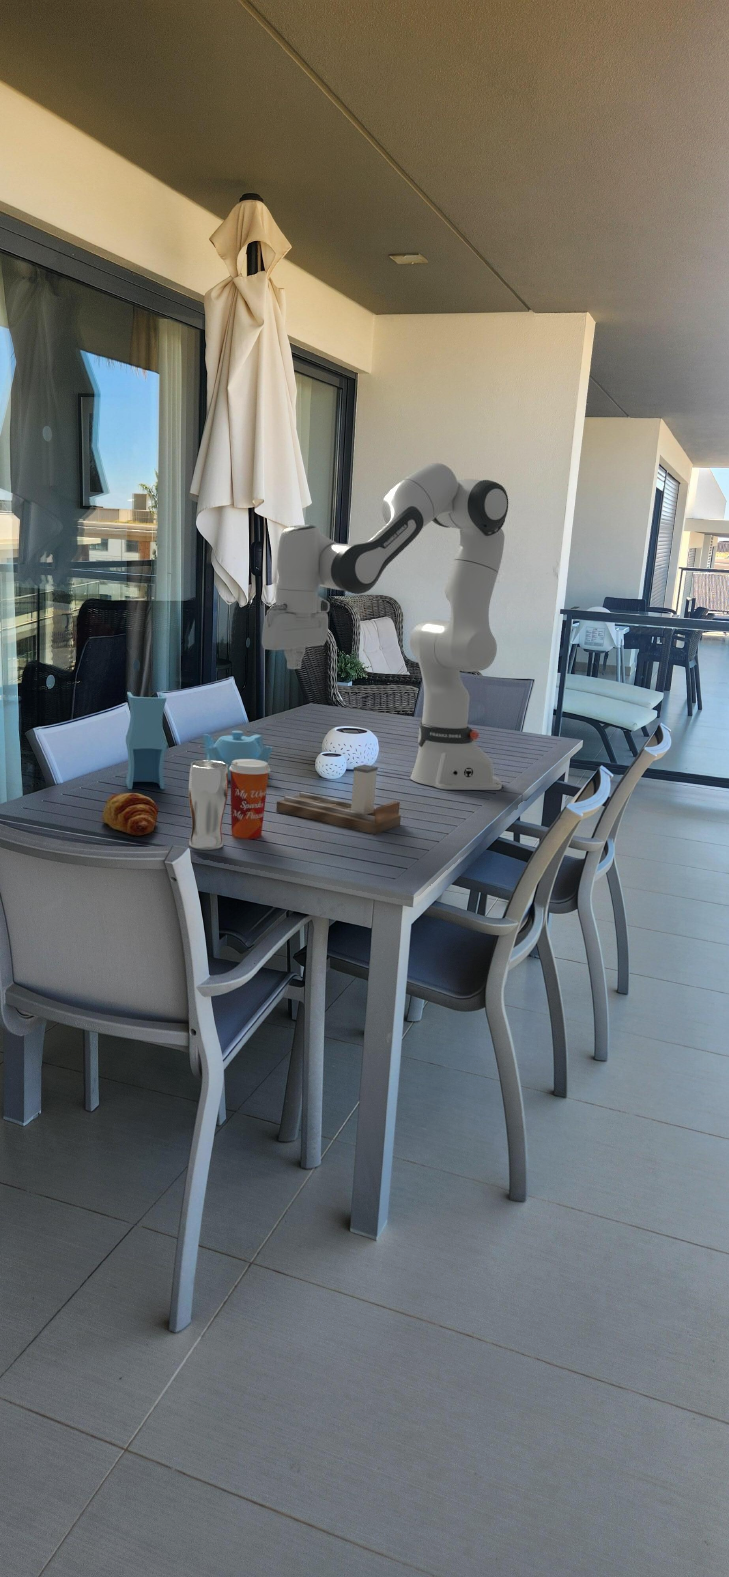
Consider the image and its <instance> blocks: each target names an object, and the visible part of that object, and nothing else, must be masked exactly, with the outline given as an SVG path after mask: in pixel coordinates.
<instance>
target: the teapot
mask: <svg viewBox="0 0 729 1577" xmlns="http://www.w3.org/2000/svg"><path fill="white" fill-rule="evenodd" d="M230 732H231V735H229V734H228V735H223V736H220V737H219V738H218V739H217V740H216V742H215V741H214V739H213V737H212V735H211V734H206V733H204V734H202V739H203V746H204V752H205V755H206V756H205V757H206V760H209V761H219V762H223V763H226V764H227V765H228V782H231V771H230V770H229V767H230V766H231V763H232V761H234V760H238V759H254V760H261V761H264V762H267V763H268V762H269V760H270V757H271V755H272V752H273V750H274V746H269V745H266V746H264V741H263V737H262V735H260V734H257V733H256V734H253V735H252V736H246V735H244V731H242V730H233V731H230Z"/></svg>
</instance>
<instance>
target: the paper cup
mask: <svg viewBox="0 0 729 1577" xmlns="http://www.w3.org/2000/svg"><path fill="white" fill-rule="evenodd" d="M229 770H230V771H231V781H230V813H231V814H230V819H231V820H230V822H231V825H230V826H231V828H230V829H231V835H232V837H234V838H236V839H243V840H255V839H258V838H260V837H261V836H262V831H263V824H264V816H265V808H266V799H267V791H268V790H267V789H268V782H269V781H268V779H269V773H271V770H272V769H270V765H269V764H268V762H264V761H261V760H254V759H238V760H234V761H232V763H231V766H230V767H229Z"/></svg>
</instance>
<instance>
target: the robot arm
mask: <svg viewBox="0 0 729 1577" xmlns="http://www.w3.org/2000/svg"><path fill="white" fill-rule="evenodd" d="M508 497H509V496H508V493H507V490H506V489H505V487H504V486H503V485H501V484H500V483H498V482H496V481H493V480H489V479H483V480H482V479H481V480H480V479H474V478H468V479H465V478H464V479H462V480H461V479H460V480H457V477H456V475H455V473H454V471H452V469H451V468H450V467H449V466H447V465H446V464H443V463H439V462H435V463H431V464H428V465H425V466H424V467H422V468H420V469H418V470H416V471H414V472H412V473H411V474H410V475H408V476H407V477H405V478H404V479H402V480H401V481H400V482H398V483H397V484H395V485H394V486H393V487H392V488H391V489H390V490H389V491H388V492H387V493H386V495H384V497H383V499H382V503H381V514H382V517H383V520H384V522H385V526H383V527H382V528H381V529H380V530H379V531H378V532H376V534H374V535H373V536H372V537H371V538H370V539H368V541H364V542H360V543H352V544H351V543H339V542H336V541H335V540H332V539H331V538H329V537H327V536H325V535H324V534H323V532H321V531H319V529H318V527H317V526H315V525H313V524H303V525H302V524H301V525H294V526H288V527H286V528H285V529H284V530H282V532H281V533H280V537H279V541H278V548H277V559H276V560H277V562H276V563H277V564H276V569H277V572H278V573H277V574H278V578H277V583H276V590H275V593H276V594H275V604H272V605H271V606H270V608H269V609H268V610H267V611H266V615H265V617H264V620H263V625H262V631H261V632H262V633H261V645H262V648H263V649H264V650H269V651H281V650H283V653H284V657H285V659H286V661H287V662H286V668H287V669H288V670H296V669H297V670H298V669H301V668H302V660H303V658H304V657H305V653H306V648H309V647H317V646H324V645H325V643H326V642H327V638H328V633H329V632H328V630H329V616H328V612H329V611H330V608H331V607H330V606H331V605H330V602H329V601H327V600H325V599H324V598H323V597H321V596H319V593H318V592H319V587H322V588H327V589H332V590H338V591H344V592H347V593H351V594H355V595H361V594H364V593H367V592H369V591H370V590H372V588H373V587H374V586H375V585H376V584H377V582H378V581H379V579H380V577H381V576H382V573H384V570H385V569H386V568H387V567H388V565H389V564H390V563H392V561H393V560H394V559H395V558H397V557H398V555H400V553H402V552H403V551H404V550H405V549H406V548H407V547H408V546H409V545H410V544H411V543H412V542H413V541H414V540H416V538H417V536H418V535H419V534H420V533H421V531H422V529H423V528H425V527H426V526H427V525H428V524H429V523H431V522H433V523H434V524H435V525H437V526H440V527H442V528H443V527H444V528H453V529H456V530H457V529H458V530H459V535H460V540H459V544H458V547H457V550H456V551H455V555H454V559H453V561H452V564H451V565H452V566H451V568H450V571H449V576H448V578H447V582H446V585H445V589H444V594H445V598H446V600H448V602H449V604H450V617H449V618H450V619H449V621H447V620H441V619H434V620H426V621H423V622H420V623H418V624H417V625H416V626H414V628H412V631H411V634H410V636H409V648H410V650H411V653H412V654H413V656H414V657H415V659H416V660H417V663H418V667H419V669H420V673H421V678H422V684H423V706H422V708H423V709H422V718H421V719H422V720H421V722H420V724H419V728H418V737H417V739H418V740H417V743H418V751H417V755H416V760H415V763H414V767H413V769H412V773H411V775H410V779H411V780H412V781H413V782H415V783H419V784H421V785H425V786H431V787H435V788H437V789H439V790H449V791H450V790H452V791H453V790H461V791H463V790H464V791H466V790H467V791H471V790H473V791H499V790H502V785H503V784H502V781H501V780H500V779H499V778H498V777H496V776H495V775H494V774H495V773H494V772H495V770H494V764H493V760H492V759H491V758H490V757H489V756H488V755H487V754H486V753H485V751H483V750H482V749H481V748H480V747H479V746H478V745H477V744H476V743H474V742H473V741H475V740H478V738H480V734H479V732H478V731H477V730H474V729H473V728H471V727H469V726H468V721H469V720H468V719H469V710H470V700H471V699H470V698H471V697H470V693H469V691H468V689H467V688H466V687H465V685H464V683H463V681H462V676H461V672H466V673H469V672H480V671H485V670H487V669H488V668H489V667H491V665H492V664H493V663H494V661H495V659H496V657H497V653H498V652H497V651H498V650H497V649H498V644H497V641H496V638H495V636H494V635H493V632H492V630H491V626H490V616H489V614H490V604H491V599H492V596H493V591H494V589H495V585H496V581H497V578H498V575H499V570H500V566H501V564H502V563H501V562H502V559H503V553H504V548H505V538H506V537H505V533H504V530H503V529H502V528H503V527H504V524H505V521H506V518H507V516H508V511H509V498H508ZM460 671H461V672H460Z"/></svg>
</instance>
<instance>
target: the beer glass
mask: <svg viewBox="0 0 729 1577" xmlns="http://www.w3.org/2000/svg"><path fill="white" fill-rule="evenodd" d="M188 776H189V777H188V803H189V810H190V816H191V831H190V832H191V833H190V837H189V841H188V845H189V846H190V848H192V849H196V850H201V851H202V850H203V851H214V850H218V849H221V848H222V847H223V846H224V841H223V832H222V825H223V819H224V815H225V814H224V813H225V810H226V804H227V801H228V792H229V781H228V765H227V764H226V763H223V762H219V761H209V760H207V759H206V760H194V761H191V763H190V769H189V774H188Z"/></svg>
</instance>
